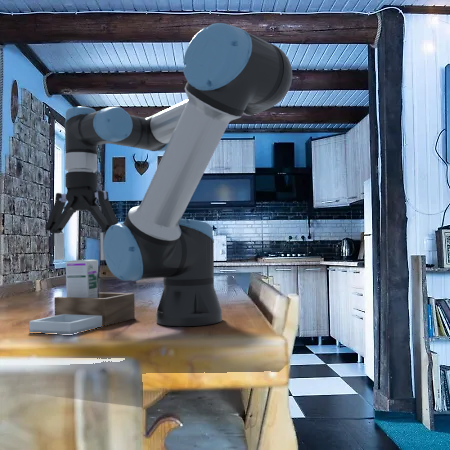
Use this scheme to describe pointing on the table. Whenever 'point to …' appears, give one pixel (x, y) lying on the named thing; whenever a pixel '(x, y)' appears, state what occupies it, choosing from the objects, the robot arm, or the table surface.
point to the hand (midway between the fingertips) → (81, 259)
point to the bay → (99, 306)
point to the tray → (65, 324)
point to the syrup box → (82, 279)
